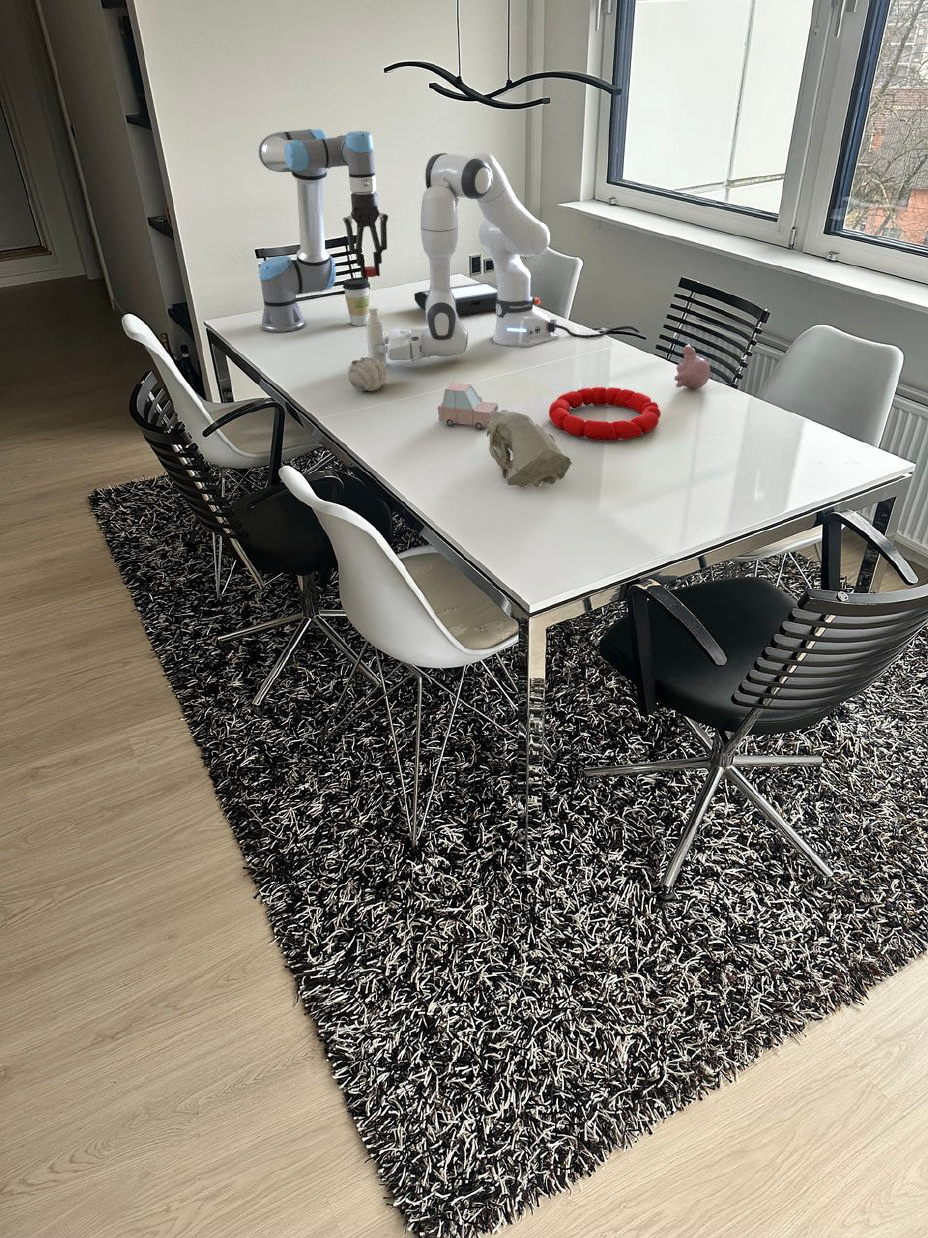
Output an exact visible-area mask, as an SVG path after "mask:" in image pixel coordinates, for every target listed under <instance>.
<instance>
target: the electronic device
mask: <svg viewBox="0 0 928 1238" xmlns="http://www.w3.org/2000/svg"><path fill="white" fill-rule="evenodd" d="M450 288H451V291H452V293H453V295H454V297H455V300H456V312H457V314H458V317H460V316H467V315H473V314H480V313H481V314H482V313H487V312H493V311H496V297H497V284H494V283H492V282H490V281H484V282H478V283H471V284H464V285H457V286H450ZM428 293H429V290H423V291H418V292H415V293H414V295H413V296H414V302H415V303H416V304H417V306H418V307H419V308H420V309H421V310H422V311H424V312H426V309H425V300H426V297H427V295H428Z"/></svg>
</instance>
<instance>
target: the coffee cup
mask: <svg viewBox="0 0 928 1238" xmlns="http://www.w3.org/2000/svg"><path fill="white" fill-rule="evenodd" d="M370 287H371V283H370V282H369V279H367V278H363V277H351V278H347V279H345V280H344V281H343V285H342V288H343V290H344V297H345V301H346V305H347V310H348V314H349V318H350V323H351V325H353V326H357V327H359V326H366V322H367V321H368V319H369V317H370V311H369V308H370Z"/></svg>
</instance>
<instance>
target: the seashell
mask: <svg viewBox="0 0 928 1238" xmlns="http://www.w3.org/2000/svg"><path fill="white" fill-rule="evenodd" d="M387 377H388V368H387V366H385V364H384V362H383V361H381V362H380V361H379V360H378V359H377V358H376V359H375V358H369V356H367V357H363V356H362V357H360V359H359V360H357V359H353V360H351V362H350V364H349V366H348V371H347V378H348V382H349V384H350V385H351V386H352V387H353V388H354V389H355V390H357V391H361V392H364V391H365V392H366V391H368V392H373V391H377V390H379V389H380V388H381V387H382V386H383V384H384V383H385V382H386V380H387Z"/></svg>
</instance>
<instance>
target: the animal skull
mask: <svg viewBox="0 0 928 1238" xmlns="http://www.w3.org/2000/svg"><path fill="white" fill-rule="evenodd" d="M485 436H486V438H487V437H489V438H488V440H489V444H488V445H489V446H488V450H489V454H490V456H491V457H492V458H493V459H494V460H495V462H496V464H497V466H499V468H500V470H501V471H502V472H501V478H502V479H507V480H506V484H507V486H517V487H518V486H519V488H523V489H524V488H526V486H527V485H529V483H531V485H533V486H534V487H536V488H540V485H541V484H542V482H544V483H549V484H550V485H553V484H555V483H556V482H557V480H561V479H563V478H565V476H566V474H567V472H568V471H569V469H570V467H571V466H572V464H573V462H572V461H571V458H570V457H568V456H567V455H565V453H564V451H562V449H561V448H560V446H559V444H557V443H556V439H555V438H554V436H553V435H551V434H550V433H548V432H547V431H546V430H545V429H544V428H542V427H541V426H539V425H538V424H537V423H536V424H535V422H534V421H533V419H532V418H531V417H530V416H529V415H527V414H524V413H519V412H515V411H509V410H507V409H502V410H500V411H499V410H497V411H496V412H492V413H491V414H490V422H488V423H487V427H486V435H485ZM511 453H512V454H511ZM511 455H512V457H513V458H512V460H511ZM507 474H508V475H507Z"/></svg>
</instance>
